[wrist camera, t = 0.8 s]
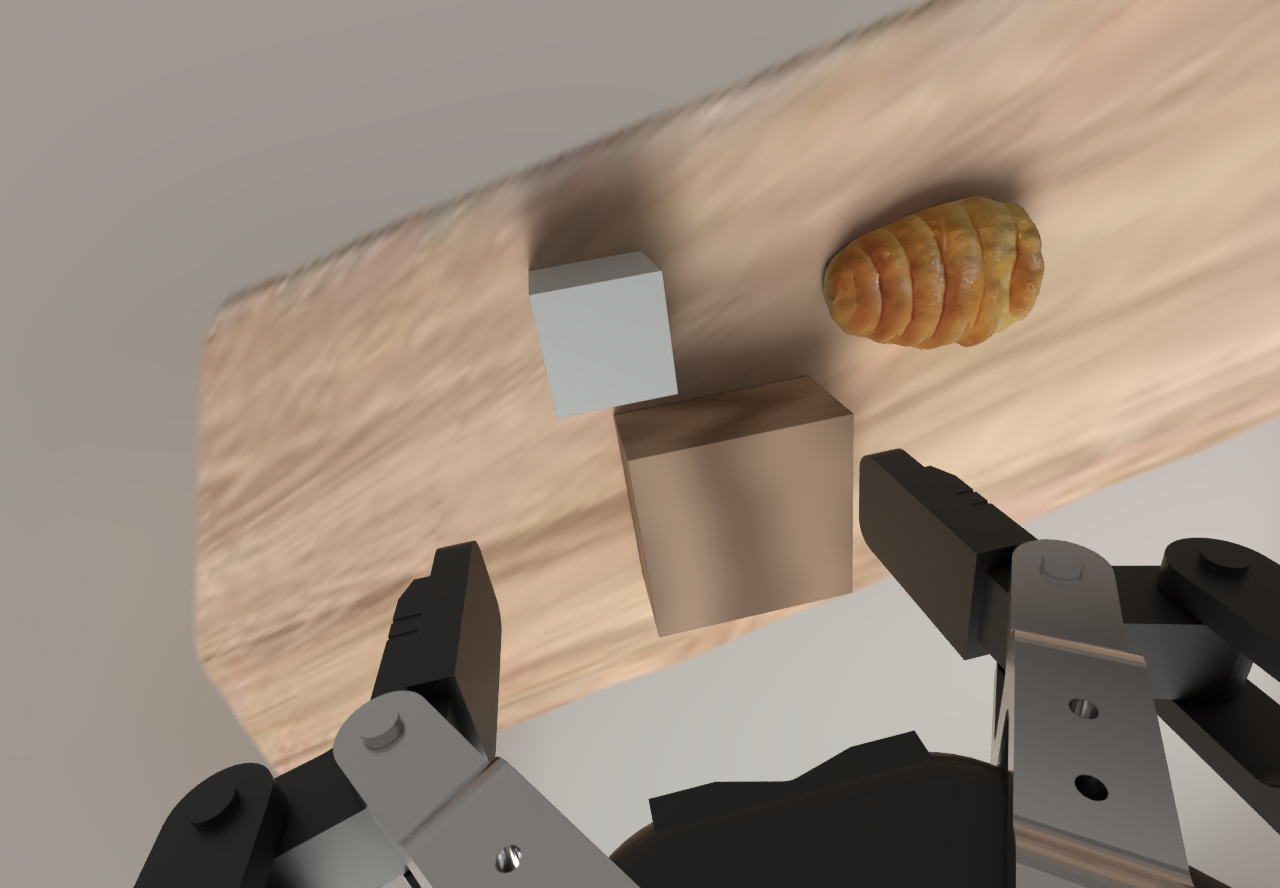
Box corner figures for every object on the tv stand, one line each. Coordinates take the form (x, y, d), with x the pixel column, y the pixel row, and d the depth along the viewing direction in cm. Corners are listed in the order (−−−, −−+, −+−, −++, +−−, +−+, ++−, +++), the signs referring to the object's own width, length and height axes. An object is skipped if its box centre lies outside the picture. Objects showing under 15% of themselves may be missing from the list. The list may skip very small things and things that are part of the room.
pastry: (815, 356, 31) (850, 381, 28) (816, 215, 29) (855, 224, 25) (989, 326, 32) (1043, 347, 29) (1007, 187, 29) (1070, 191, 26)
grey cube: (640, 250, 28) (662, 270, 23) (655, 356, 30) (677, 393, 26) (528, 270, 27) (529, 295, 23) (552, 377, 30) (557, 418, 25)
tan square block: (807, 375, 32) (853, 414, 27) (812, 537, 36) (852, 592, 32) (613, 415, 31) (627, 461, 26) (643, 575, 35) (659, 637, 31)
